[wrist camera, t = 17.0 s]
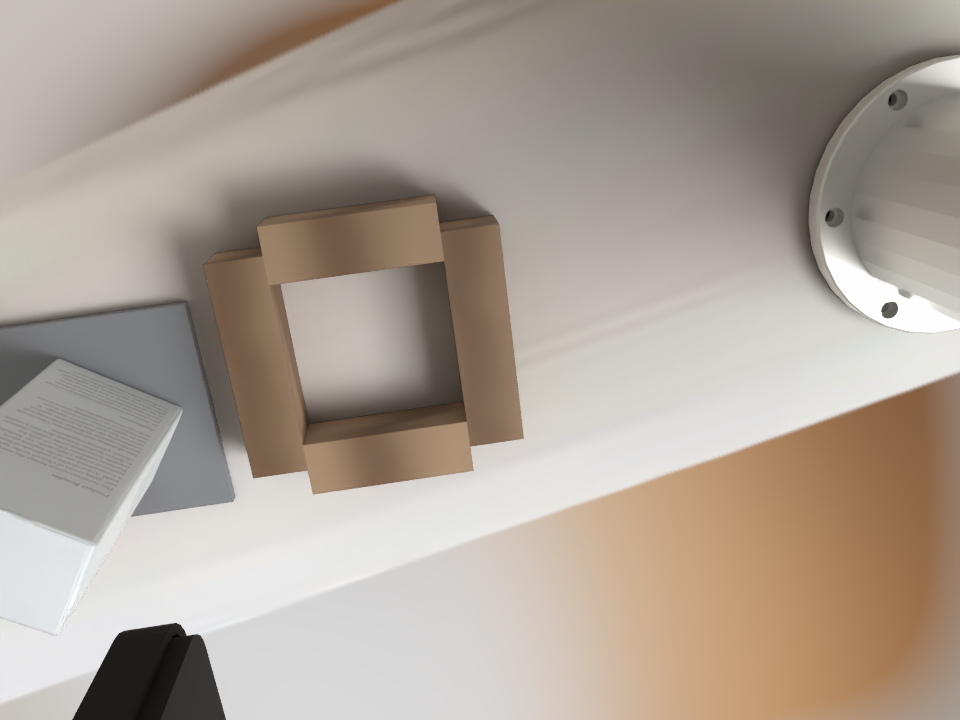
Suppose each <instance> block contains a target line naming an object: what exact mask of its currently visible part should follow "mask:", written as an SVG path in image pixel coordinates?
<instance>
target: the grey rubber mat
mask: <svg viewBox="0 0 960 720" xmlns="http://www.w3.org/2000/svg"><path fill="white" fill-rule="evenodd" d="M57 359H62V360H65V361H67V362H69V363H72V364H74V365H77V366H79V367H82V368H84V369H87V370H89V371H92V372H94V373H96V374H99V375H101V376H104V377H106V378H109V379H111V380H114V381H117V382H119V383H122V384H124V385H126V386H129V387H131V388H134V389H136V390H139V391H141V392H144V393H146V394H149V395H151V396H154V397H156V398H159V399H161V400H164V401H166V402H169V403H171V404H174V405H177V406H179V407H181V408H182V409H183V411H182V415H181V417H180V420H179V422H178V424H177V426H176V429H175V431H174V433H173V436H172V438H171V440H170V442H169V444H168V447H167V449H166V451H165V453H164V455H163V458H162V460H161V462H160V464H159V467H158V469H157V471H156V473H155V476H154V478H153V480H152V482H151V484H150V486H149V487H148V489H147V490H146V492H145V494H144V495H143V497H142V498H141V500H140V502H139V503H138V505H137V507H136V508H135V510H134V512H133V513H132V515H131V517H132V516H139V515H146V514H153V513H159V512H166V511H173V510H180V509H187V508H193V507H200V506H207V505H214V504H220V503H227V502H233V501H234V499H235V493H234V489H233V485H232V481H231V477H230V473H229V469H228V465H227V461H226V457H225V453H224V449H223V445H222V441H221V437H220V432H219V428H218V424H217V420H216V416H215V412H214V408H213V404H212V400H211V396H210V392H209V388H208V384H207V380H206V376H205V372H204V367H203V363H202V359H201V355H200V351H199V347H198V343H197V339H196V335H195V331H194V327H193V323H192V319H191V315H190V311H189V307H188V302H180V303H173V304H165V305H158V306H151V307H144V308H137V309H129V310H122V311H115V312H108V313H100V314H93V315H86V316H79V317H72V318H64V319H57V320H50V321H43V322H35V323H28V324H21V325H14V326H7V327H0V406H1V405H2V404H4V403H5V402H6V401H7V400H8V399H10V398H11V397H12V396H13V395H15V394H16V393H17V392H18V391H20V390H21V389H22V388H23V387H24V386H25V385H27V384H28V383H29V382H30V381H31V380H32V379H34V378H35V377H36V376H37V375H38V374H40V373H41V372H42V371H43V370H44V369H46V368H47V367H48V366H49V365H50V364H52V363H53V362H54V361H55V360H57Z"/></svg>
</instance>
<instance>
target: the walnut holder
mask: <svg viewBox="0 0 960 720" xmlns="http://www.w3.org/2000/svg"><path fill="white" fill-rule="evenodd" d="M257 232H258V236H259V241H260V246H261V247H256V248H249V249H241V250H234V251H227V252H219V253H215V254H214V255H213V256H212V257H211V258H210V259H209V260H208V261H207V262H205V263H204V264H203V267H204V271H205V276H206V280H207V284H208V288H209V293H210V297H211V301H212V305H213V310H214V314H215V318H216V322H217V326H218V331H219V335H220V339H221V343H222V348H223V352H224V356H225V360H226V365H227V369H228V373H229V377H230V382H231V386H232V390H233V394H234V398H235V403H236V407H237V411H238V415H239V420H240V424H241V428H242V432H243V437H244V441H245V445H246V449H247V453H248V458H249V462H250V466H251V470H252V475H253V478H259V477H266V476H272V475H279V474H286V473H293V472H300V471H306V470H308V473H309V478H310V482H311V487H312V492H313V494H320V493H326V492H333V491H340V490H347V489H353V488H360V487H367V486H374V485H380V484H387V483H394V482H401V481H408V480H414V479H421V478H428V477H435V476H441V475H448V474H455V473H462V472H468V471H474V470H473V463H472V456H471V449H470V446H477V445H484V444H491V443H497V442H504V441H511V440H518V439H524V436H523V428H522V419H521V410H520V402H519V393H518V384H517V376H516V367H515V358H514V350H513V341H512V332H511V324H510V315H509V306H508V298H507V289H506V280H505V272H504V263H503V254H502V246H501V237H500V228H499V223H498V222H497V220H496V219H495V217H494V215H490V216H483V217H476V218H468V219H461V220H454V221H446V222H439V218H438V211H437V204H436V199H435V195H429V196H422V197H414V198H407V199H399V200H392V201H385V202H377V203H370V204H362V205H355V206H348V207H340V208H333V209H325V210H318V211H311V212H303V213H296V214H288V215H281V216H274V217H266V218H265V219H264V220H263V221H262V222H261V223H260V224H259V225H258V226H257ZM442 261H444V266H445V273H446V281H447V288H448V295H449V302H450V309H451V316H452V324H453V331H454V338H455V345H456V352H457V360H458V367H459V374H460V381H461V388H462V395H463V402H458V403H451V404H444V405H437V406H430V407H423V408H416V409H409V410H402V411H395V412H389V413H382V414H375V415H368V416H361V417H354V418H347V419H340V420H333V421H326V422H319V423H312V424H309V422H308V417H307V412H306V407H305V402H304V397H303V393H302V388H301V383H300V378H299V373H298V368H297V364H296V359H295V354H294V349H293V344H292V339H291V335H290V330H289V325H288V320H287V315H286V310H285V306H284V301H283V296H282V291H281V286H280V284H283V283H290V282H297V281H305V280H312V279H319V278H326V277H334V276H341V275H348V274H355V273H362V272H370V271H377V270H384V269H391V268H399V267H406V266H413V265H420V264H428V263H435V262H442Z"/></svg>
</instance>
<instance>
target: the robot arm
mask: <svg viewBox="0 0 960 720" xmlns="http://www.w3.org/2000/svg"><path fill="white" fill-rule="evenodd" d="M890 95H891V98H892V99H891V102H890V104H888V100H889V96H890ZM828 211H829V212H830V215H829V217H828V218H827V219H826V220H825V217H826V214H827V212H828ZM808 224H809V231H810V238H811V246H812V250H813V253H814V256H815V258H816V261H817V264H818V267H819V270H820V272H821V273H822V275H823V277H824V278H825V280H826V281H827V283H828V285H829V286H830V288H831V289H832V291H833V292H834V293H835V294H836V295H837V296H838V297H839V298H840V299H841V300H842V301H843V302H844V303H845V304H846V305H847V306H849V307H850V308H852V309H853V310H855V311H856V312H858V313H859V314H861V315H863V316H864V317H866V318H868V319H870V320H872V321H874V322H876V323H878V324H880V325H882V326H885V327H888V328H892V329H896V330H900V331H904V332H912V333H936V332H943V331H950V330H956V329H959V328H960V55H953V56H946V57H938V58H934V59H931V60H928V61H925V62H922V63H919V64H916V65H913V66H910V67H908V68H906V69H904V70H903V71H901V72H899V73H897V74H895V75H894V76H892V77H890V78H888V79H886V80H885V81H883V82H882V83H881V84H880V85H878V86H877V87H876V88H875V89H873V90H872V91H871V92H870V93H868V94H867V95H866V96H865V97H863V98H862V99H861V100H860V101H859V103H858V104H857V105H856V106H855V107H854V108H853V109H852V110H851V112H850V113H849V114H848V115H847V116H846V117H845V118H844V119H843V121H842V122H841V124H840V125H839V127H838V128H837V130H836V132H835V133H834V135H833V136H832V138H831V139H830V141H829V143H828V144H827V146H826V149H825V151H824V153H823V156H822V158H821V160H820V163H819V165H818V167H817V170H816V173H815V177H814V182H813V186H812V190H811V194H810V203H809V222H808ZM882 306H883V307H882ZM881 307H882V308H881ZM72 720H226V718H225V715H224V711H223V707H222V704H221V700H220V696H219V693H218V689H217V686H216V682H215V679H214V675H213V671H212V668H211V664H210V661H209V657H208V653H207V650H206V647H205V644H204V641H203V639H202V638H201V636H200V635H197V634H196V635H189V636H186V633H185V631H184V629H183V628H182V626H181V625H179V624H177V623H173V624H167V625H160V626H153V627H147V628H140V629H134V630H127V631H123V632H121V633H119V634H118V636H117V637H116V638H115V640H114V641H113V643H112V645H111V647H110V649H109V651H108V653H107V655H106V657H105V659H104V660H103V662H102V664H101V666H100V668H99V670H98V672H97V674H96V676H95V678H94V679H93V682H92V683H91V685H90V687H89V689H88V691H87V693H86V695H85V697H84V698H83V701H82V702H81V704H80V706H79V708H78V710H77V712H76V714H75V716H74V718H73V719H72Z"/></svg>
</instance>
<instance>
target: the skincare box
mask: <svg viewBox="0 0 960 720" xmlns="http://www.w3.org/2000/svg"><path fill="white" fill-rule="evenodd" d="M182 411H183V409H182V408H181V407H179V406H177V405H174V404H171V403H169V402H166V401H164V400H161V399H159V398H156V397H154V396H151V395H149V394H146V393H144V392H141V391H139V390H136V389H134V388H131V387H129V386H126V385H124V384H122V383H119V382H117V381H114V380H111V379H109V378H106V377H104V376H101V375H99V374H96V373H94V372H92V371H89V370H87V369H84V368H82V367H79V366H77V365H74V364H72V363H69V362H67V361H65V360H62V359H57V360H55V361H54V362H53V363H52V364H50V365H49V366H48V367H47V368H46V369H44V370H43V371H42V372H41V373H40V374H38V375H37V376H36V377H35V378H34V379H32V380H31V381H30V382H29V383H28V384H27V385H25V386H24V387H23V388H22V389H21V390H20V391H18V392H17V393H16V394H15V395H13V396H12V397H11V398H10V399H8V400H7V401H6V402H5V403H4V404H2V405H1V406H0V618H2V619H5V620H8V621H11V622H15V623H18V624H21V625H24V626H27V627H30V628H33V629H36V630H39V631H42V632H45V633H48V634H51V635H54V636H57V635H59V634H60V632H61V631H62V630H63V628H64V626H65V625H66V623H67V621H68V620H69V618H70V616H71V615H72V613H73V611H74V610H75V608H76V606H77V605H78V603H79V601H80V600H81V598H82V596H83V595H84V593H85V591H86V590H87V588H88V586H89V585H90V583H91V581H92V580H93V578H94V576H95V575H96V573H97V571H98V570H99V568H100V566H101V565H102V563H103V561H104V560H105V558H106V556H107V555H108V553H109V551H110V550H111V548H112V546H113V545H114V543H115V541H116V540H117V538H118V536H119V535H120V533H121V531H122V530H123V528H124V527H125V525H126V523H127V522H128V520H129V518H130V517H131V515H132V513H133V512H134V510H135V508H136V507H137V505H138V503H139V502H140V500H141V498H142V497H143V495H144V494H145V492H146V490H147V489H148V487H149V486H150V484H151V482H152V480H153V478H154V476H155V473H156V471H157V469H158V467H159V464H160V462H161V460H162V458H163V455H164V453H165V451H166V449H167V447H168V444H169V442H170V440H171V438H172V436H173V433H174V431H175V429H176V426H177V424H178V422H179V420H180V417H181V415H182Z"/></svg>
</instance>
